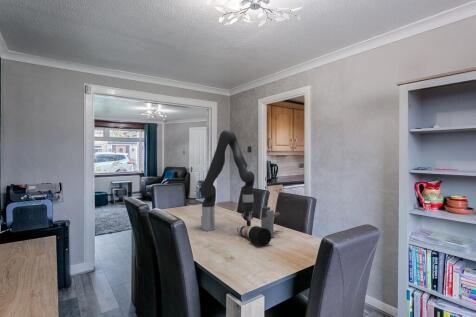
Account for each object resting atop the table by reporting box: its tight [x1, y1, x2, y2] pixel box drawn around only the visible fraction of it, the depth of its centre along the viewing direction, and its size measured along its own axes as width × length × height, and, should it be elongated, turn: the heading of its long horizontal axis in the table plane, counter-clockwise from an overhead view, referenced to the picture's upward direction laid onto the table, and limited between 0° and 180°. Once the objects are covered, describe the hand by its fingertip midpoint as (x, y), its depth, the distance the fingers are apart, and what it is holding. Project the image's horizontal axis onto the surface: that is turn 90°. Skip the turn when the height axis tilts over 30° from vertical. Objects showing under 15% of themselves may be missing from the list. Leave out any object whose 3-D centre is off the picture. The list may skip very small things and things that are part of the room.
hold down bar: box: [261, 206, 281, 220], centre depth 179 cm, size 4×17×8 cm, turn 140°
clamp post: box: [260, 209, 275, 239], centre depth 173 cm, size 7×4×18 cm, turn 51°
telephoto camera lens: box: [236, 225, 272, 247], centre depth 170 cm, size 10×34×10 cm, turn 25°
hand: (248, 226), depth 177 cm, fingers closed
